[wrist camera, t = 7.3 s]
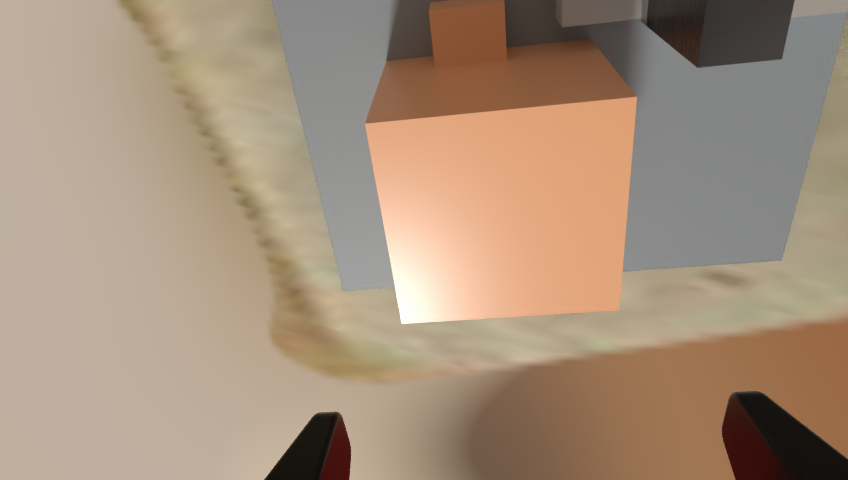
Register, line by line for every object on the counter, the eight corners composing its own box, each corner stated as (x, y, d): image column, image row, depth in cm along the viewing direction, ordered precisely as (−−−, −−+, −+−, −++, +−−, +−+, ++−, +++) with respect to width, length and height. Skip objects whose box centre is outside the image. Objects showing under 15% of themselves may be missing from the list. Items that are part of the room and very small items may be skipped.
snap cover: (592, -18, 16) (643, 24, 12) (584, 216, 20) (619, 310, 16) (378, 8, 16) (352, 57, 12) (412, 230, 20) (401, 323, 16)
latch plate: (875, -188, 14) (938, -195, 12) (768, 245, 21) (798, 280, 19) (258, -100, 16) (232, -96, 14) (347, 275, 23) (338, 311, 21)
